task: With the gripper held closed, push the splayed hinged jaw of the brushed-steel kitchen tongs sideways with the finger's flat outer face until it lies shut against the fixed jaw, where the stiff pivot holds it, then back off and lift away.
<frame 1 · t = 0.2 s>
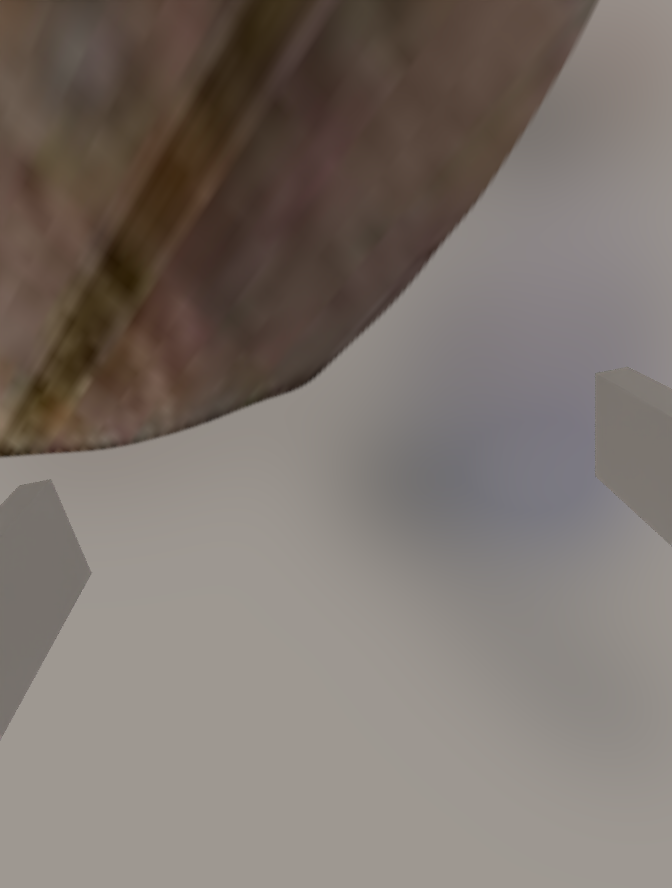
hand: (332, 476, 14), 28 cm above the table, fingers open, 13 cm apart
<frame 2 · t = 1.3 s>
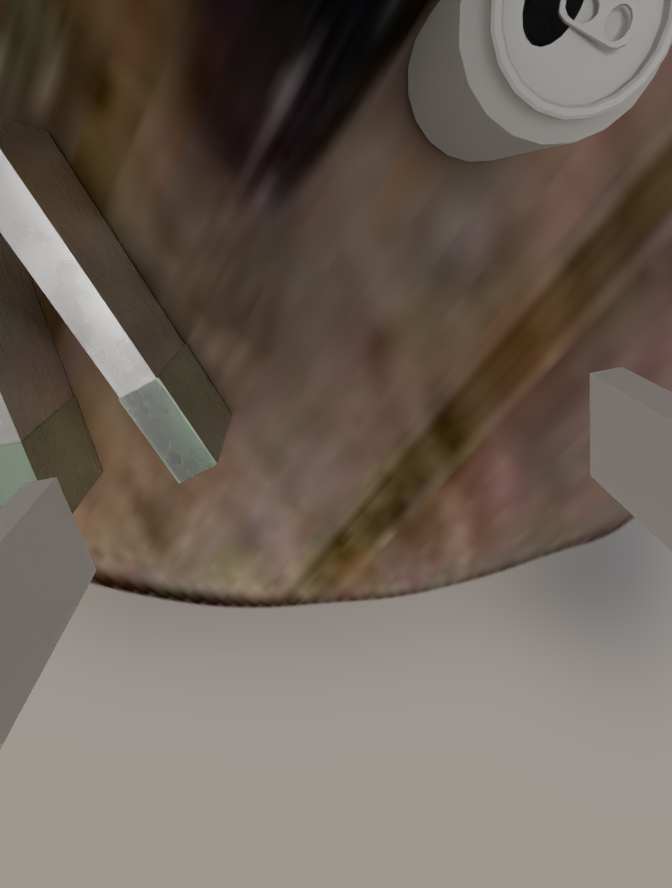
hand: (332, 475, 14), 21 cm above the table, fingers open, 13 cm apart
tong jaw: (114, 307, 28), point 4 cm above the table, hinge at 18.0°
can: (476, 81, 29), on the table
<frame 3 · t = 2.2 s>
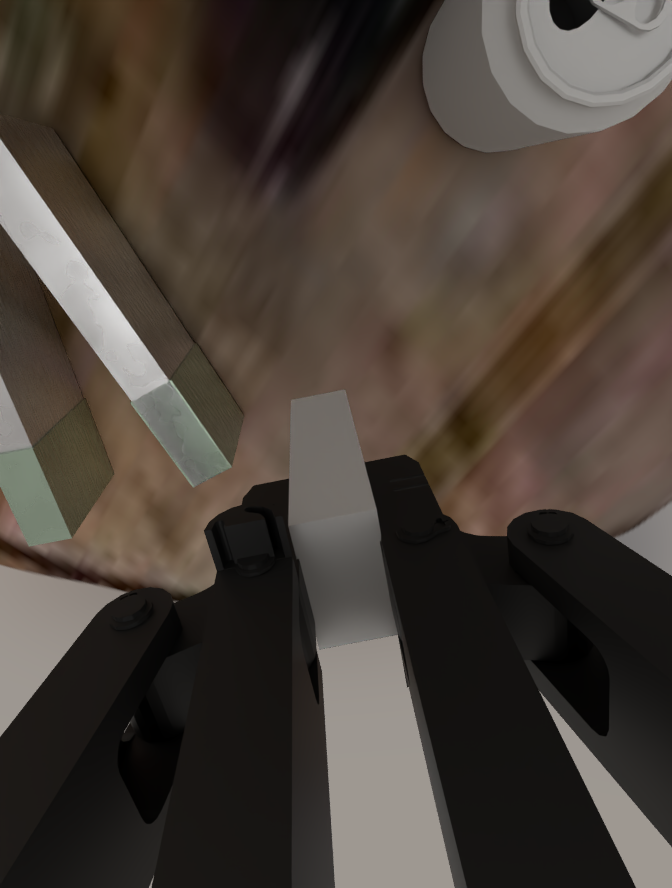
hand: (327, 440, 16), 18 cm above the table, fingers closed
tong jaw: (124, 308, 27), point 4 cm above the table, hinge at 18.0°
can: (492, 69, 28), on the table
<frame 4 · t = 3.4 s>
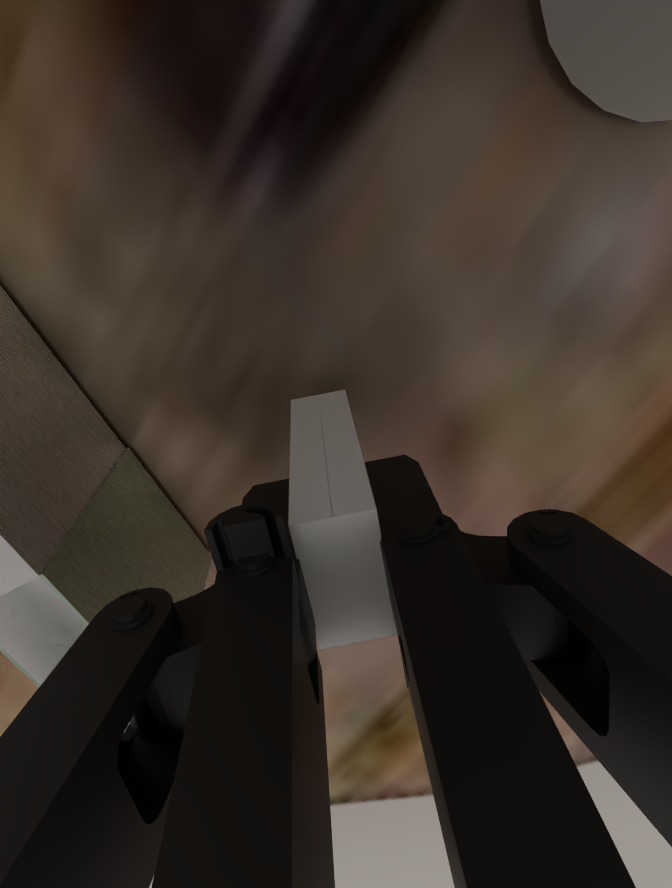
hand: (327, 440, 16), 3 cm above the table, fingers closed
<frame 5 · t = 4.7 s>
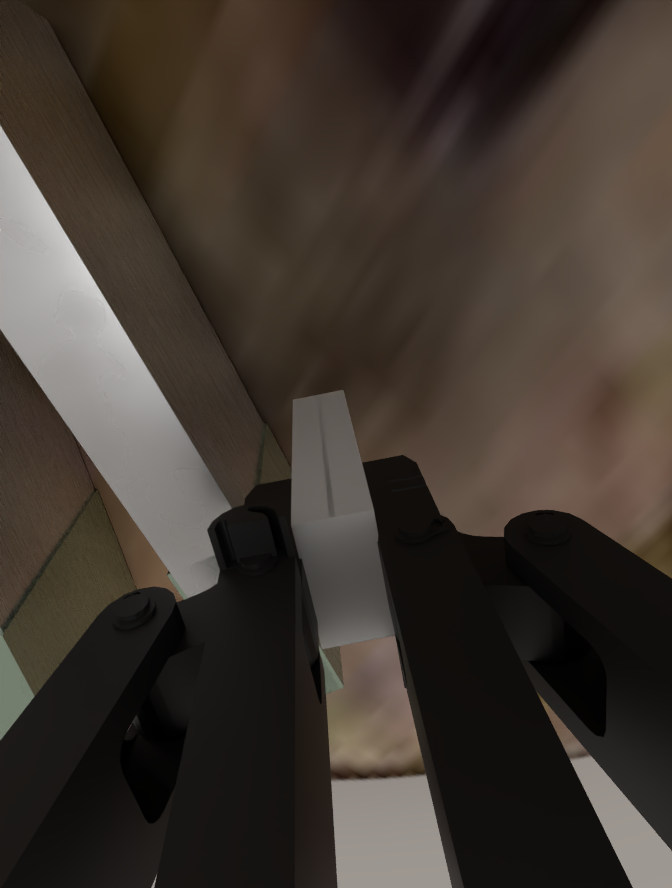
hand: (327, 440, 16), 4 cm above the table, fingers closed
tong jaw: (161, 374, 15), point 4 cm above the table, hinge at 14.0°, touching gripper
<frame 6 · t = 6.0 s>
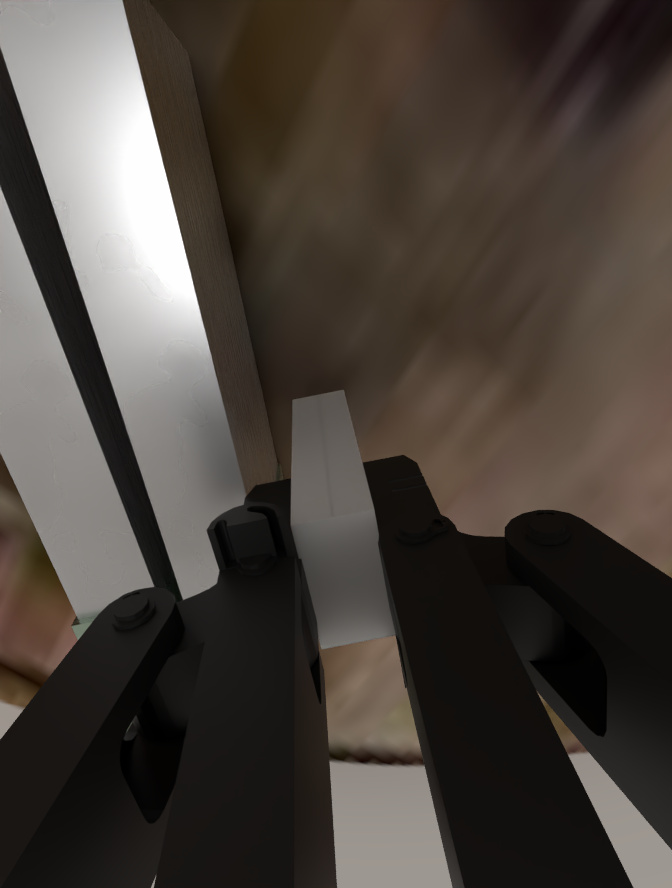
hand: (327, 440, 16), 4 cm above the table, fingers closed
tong jaw: (211, 410, 15), point 4 cm above the table, hinge at -1.4°, touching gripper
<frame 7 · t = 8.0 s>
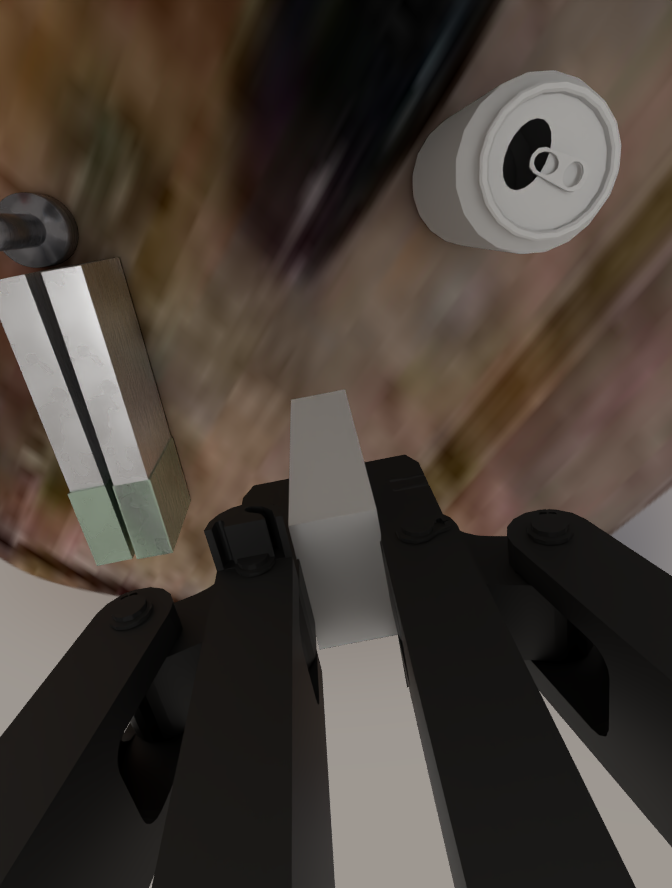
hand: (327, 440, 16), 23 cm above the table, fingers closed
tong jaw: (128, 407, 35), point 4 cm above the table, hinge at -1.5°
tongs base: (43, 230, 34), on the table
can: (467, 181, 35), on the table
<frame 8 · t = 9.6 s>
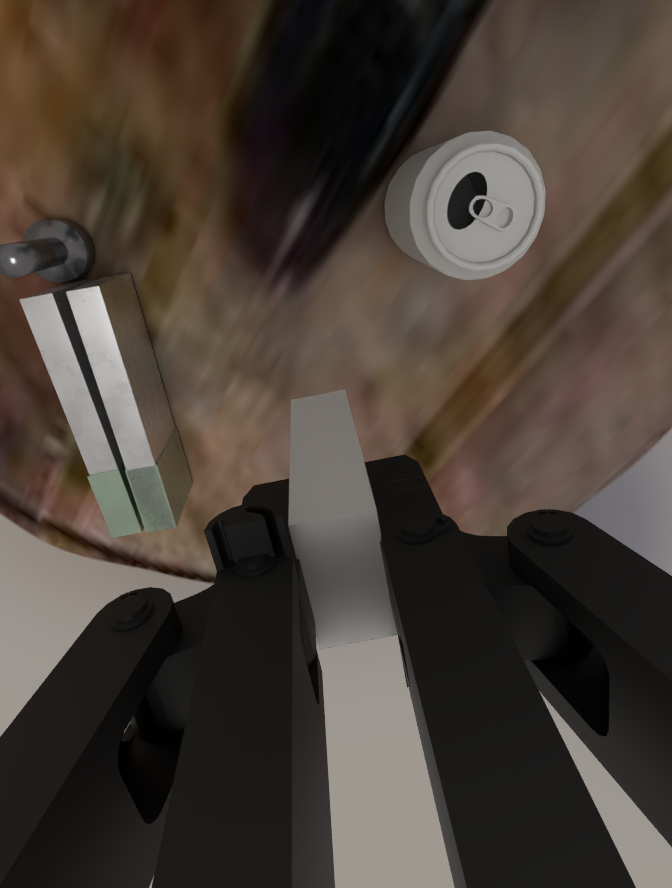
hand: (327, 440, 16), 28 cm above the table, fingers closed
tong jaw: (138, 402, 41), point 4 cm above the table, hinge at -1.5°
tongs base: (65, 249, 40), on the table
can: (434, 206, 40), on the table
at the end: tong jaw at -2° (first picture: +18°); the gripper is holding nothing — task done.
